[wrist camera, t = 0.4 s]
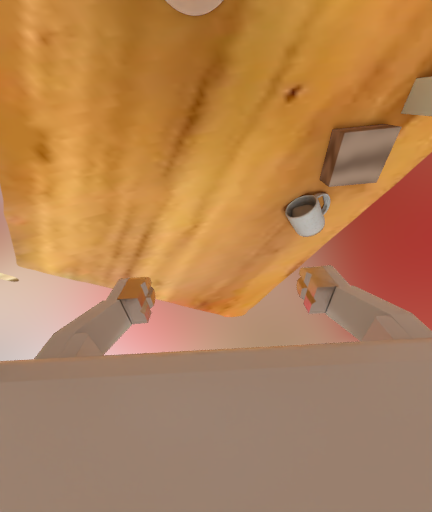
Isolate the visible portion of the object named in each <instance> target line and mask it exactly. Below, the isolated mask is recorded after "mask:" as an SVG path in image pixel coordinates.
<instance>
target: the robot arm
mask: <svg viewBox="0 0 432 512" xmlns="http://www.w3.org/2000/svg"><path fill="white" fill-rule="evenodd" d="M165 1H166V2H167V3H168V4H169V5H171V6H172V7H173V8H174V9H176V10H177V11H179V12H181V13H184V14H187V15H192V16H198V15H203V14H206V13H208V12H210V11H212V10H213V9H215V8H216V7H217V6H218V5H220V3H221V2H222V1H223V0H165ZM299 274H300V276H301V277H300V278H299V279H298V280H297V291H298V294H299V296H300V297H301V298H302V299H304V306H305V307H306V309H307V311H308V313H309V314H310V313H326V314H327V315H328V316H329V317H330V318H332V319H333V320H334V321H336V322H337V323H338V324H339V325H341V326H342V327H343V328H344V329H346V330H347V331H348V332H350V333H351V334H352V335H353V336H355V337H356V338H357V339H358V340H360V341H361V342H343V343H325V344H307V345H289V346H271V347H255V348H254V347H253V348H234V349H215V350H197V351H180V352H161V353H143V354H124V355H105V356H104V354H105V353H106V352H107V351H108V349H110V347H111V346H112V345H113V344H114V343H115V342H116V341H117V340H118V339H119V338H120V337H121V336H122V335H123V334H124V333H125V332H126V331H127V330H128V329H129V328H130V326H131V325H132V324H140V323H148V321H149V318H150V315H151V310H150V309H151V308H152V307H153V306H154V303H155V291H154V289H153V288H152V287H151V283H152V282H151V280H150V278H149V277H140V278H121V279H119V280H118V282H117V283H116V285H115V287H114V288H113V290H112V291H111V293H110V295H109V296H108V298H107V299H106V301H102V302H100V303H99V304H97V305H96V306H94V307H93V308H91V309H90V310H88V311H87V312H85V313H84V314H82V315H81V316H79V317H78V318H77V319H75V320H73V321H72V322H70V323H69V324H67V325H66V326H64V327H63V328H61V329H60V330H59V331H57V332H55V333H54V334H53V335H52V337H51V338H50V339H49V341H48V342H47V343H46V344H45V346H44V347H43V348H42V350H41V351H40V352H39V353H38V355H37V356H36V357H35V358H34V359H32V360H14V361H0V512H432V331H431V330H430V329H429V328H427V327H426V326H425V325H424V324H423V323H422V322H421V321H420V320H419V319H417V318H416V317H415V316H414V315H413V314H412V313H410V312H408V311H406V310H404V309H402V308H399V307H397V306H395V305H393V304H391V303H389V302H387V301H384V300H383V299H381V298H378V297H376V296H374V295H372V294H370V293H368V292H366V291H364V290H362V289H359V288H357V287H355V286H350V285H349V284H348V283H347V281H346V280H345V279H344V278H343V277H342V276H341V275H340V274H339V273H338V272H337V270H336V269H334V267H333V266H331V265H329V266H320V267H305V268H301V269H300V272H299Z"/></svg>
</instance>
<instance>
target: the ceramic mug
mask: <svg viewBox="0 0 432 512" xmlns="http://www.w3.org/2000/svg"><path fill="white" fill-rule="evenodd" d="M320 196H323V198H324V206H323V208H322V210H321V207H320V204H319V201H318V199H317V198H319V197H320ZM329 206H330V197H329V195H328V194H326V193H317V194H315V195H314V196H313V195H305V196H301V197H299V198H297V199H295V200H294V201H292V202H291V203H290V204H289V205H288V206H287V208H286V211H285V214H286V216H287V218H288V219H289V221H290V223H291V224H292V226H293V228H294V230H295V231H296V232H297V233H298V234H299V235H300V236H303V237H310V236H313V235H316V234H317V233H319V232H320V231H321V230H322V229H323V227H324V225H325V220H324V216H323V215H324V214H325V213H326V212H327V210H328V208H329Z"/></svg>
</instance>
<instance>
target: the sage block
mask: <svg viewBox="0 0 432 512" xmlns="http://www.w3.org/2000/svg"><path fill="white" fill-rule="evenodd" d="M401 113H402V114H413V115H425V116H432V77H424V78H416V80H415V83H414V85H413V87H412V89H411V92H410V94H409V96H408V99H407V101H406V103H405V105H404V108H403V110H402V112H401Z"/></svg>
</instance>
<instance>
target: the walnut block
mask: <svg viewBox="0 0 432 512" xmlns="http://www.w3.org/2000/svg"><path fill="white" fill-rule="evenodd" d="M400 129H401V127H399V126H393V125H387V124H380V125H370V126H361V127H352V128H342V129H333V130H332V134H331V138H330V141H329V145H328V149H327V153H326V157H325V161H324V165H323V168H322V172H321V176H320V180H321V181H322V182H323V183H325V184H326V185H327V186H328V187H331V186H343V185H354V184H365V183H376V182H377V180H378V178H379V176H380V173H381V171H382V169H383V167H384V165H385V162H386V160H387V158H388V156H389V154H390V151H391V149H392V147H393V145H394V143H395V140H396V138H397V136H398V134H399V131H400Z"/></svg>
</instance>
